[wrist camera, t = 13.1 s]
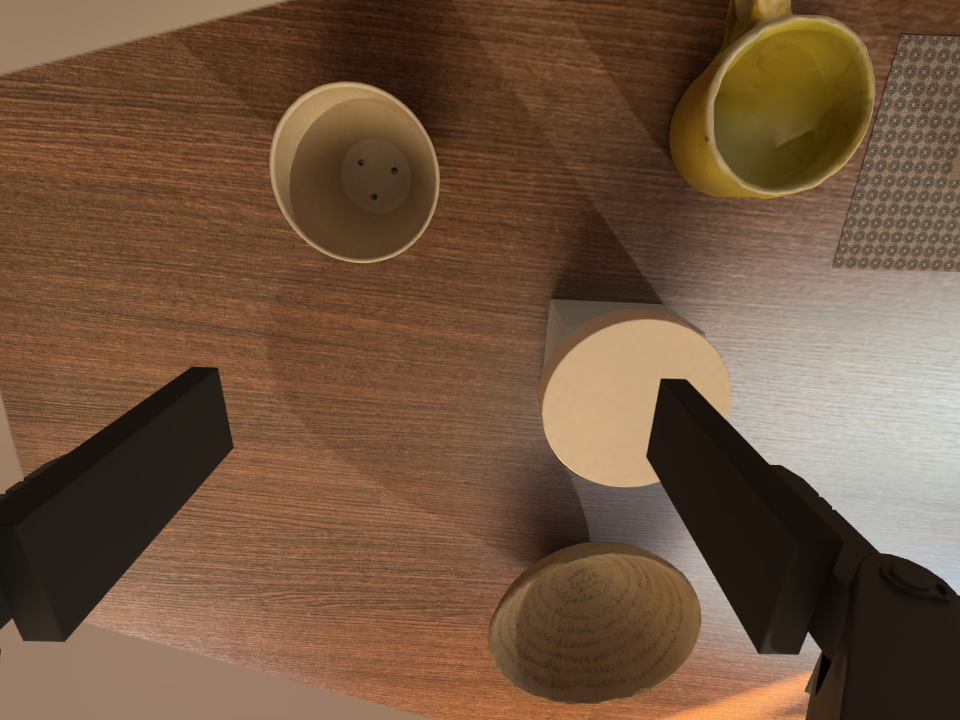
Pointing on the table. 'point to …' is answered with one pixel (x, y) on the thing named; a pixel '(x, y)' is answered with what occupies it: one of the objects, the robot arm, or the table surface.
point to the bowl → (594, 624)
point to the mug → (774, 104)
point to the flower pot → (354, 172)
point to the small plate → (621, 390)
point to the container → (589, 317)
